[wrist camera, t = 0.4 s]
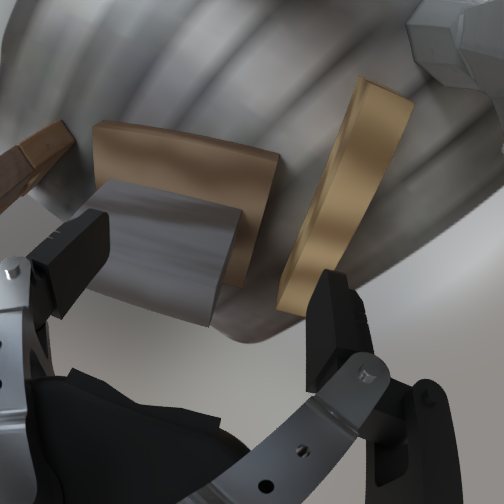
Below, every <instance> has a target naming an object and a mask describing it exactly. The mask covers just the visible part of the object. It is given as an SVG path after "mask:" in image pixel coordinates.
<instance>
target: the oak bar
mask: <svg viewBox="0 0 504 504" xmlns="http://www.w3.org/2000/svg"><path fill="white" fill-rule="evenodd" d="M414 106H415V103H413V102H412V101H410V100H409V99H407V98H406V97H404V96H403V95H401V94H400V93H398V92H396V91H394V90H392V89H390V88H387V87H385V86H383V85H380V84H378V83H376V82H373V81H371V80H369V79H366V78H364V77H361V76H359V78H358V81H357V84H356V86H355V89H354V92H353V95H352V98H351V100H350V103H349V106H348V109H347V111H346V114H345V117H344V120H343V122H342V125H341V128H340V130H339V133H338V136H337V138H336V141H335V144H334V146H333V149H332V151H331V154H330V157H329V159H328V162H327V164H326V167H325V170H324V172H323V175H322V177H321V180H320V182H319V185H318V187H317V190H316V193H315V195H314V198H313V200H312V203H311V205H310V208H309V210H308V212H307V215H306V217H305V220H304V222H303V225H302V227H301V230H300V232H299V234H298V237H297V239H296V242H295V244H294V247H293V249H292V251H291V254H290V256H289V258H288V261H287V263H286V266H285V268H284V270H283V273H282V275H281V277H280V281H279V289H278V297H277V304H276V310H280V311H283V312H287V313H291V314H295V315H299V316H303V317H306V311H307V306H308V303H309V301H310V298H311V296H312V294H313V292H314V289H315V287H316V285H317V283H318V280H319V278H320V276H321V274H322V272H323V270H324V269H329V270H333V271H334V269H335V268H336V266H337V264H338V262H339V260H340V259H341V257H342V255H343V253H344V251H345V250H346V248H347V246H348V244H349V242H350V240H351V239H352V237H353V235H354V233H355V231H356V229H357V227H358V225H359V223H360V222H361V220H362V218H363V216H364V214H365V212H366V210H367V208H368V206H369V204H370V202H371V200H372V198H373V196H374V194H375V192H376V190H377V188H378V186H379V184H380V182H381V180H382V178H383V176H384V174H385V171H386V169H387V167H388V165H389V163H390V161H391V159H392V156H393V154H394V152H395V150H396V148H397V145H398V143H399V141H400V139H401V136H402V134H403V132H404V130H405V127H406V125H407V123H408V120H409V118H410V116H411V113H412V111H413V108H414Z"/></svg>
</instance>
